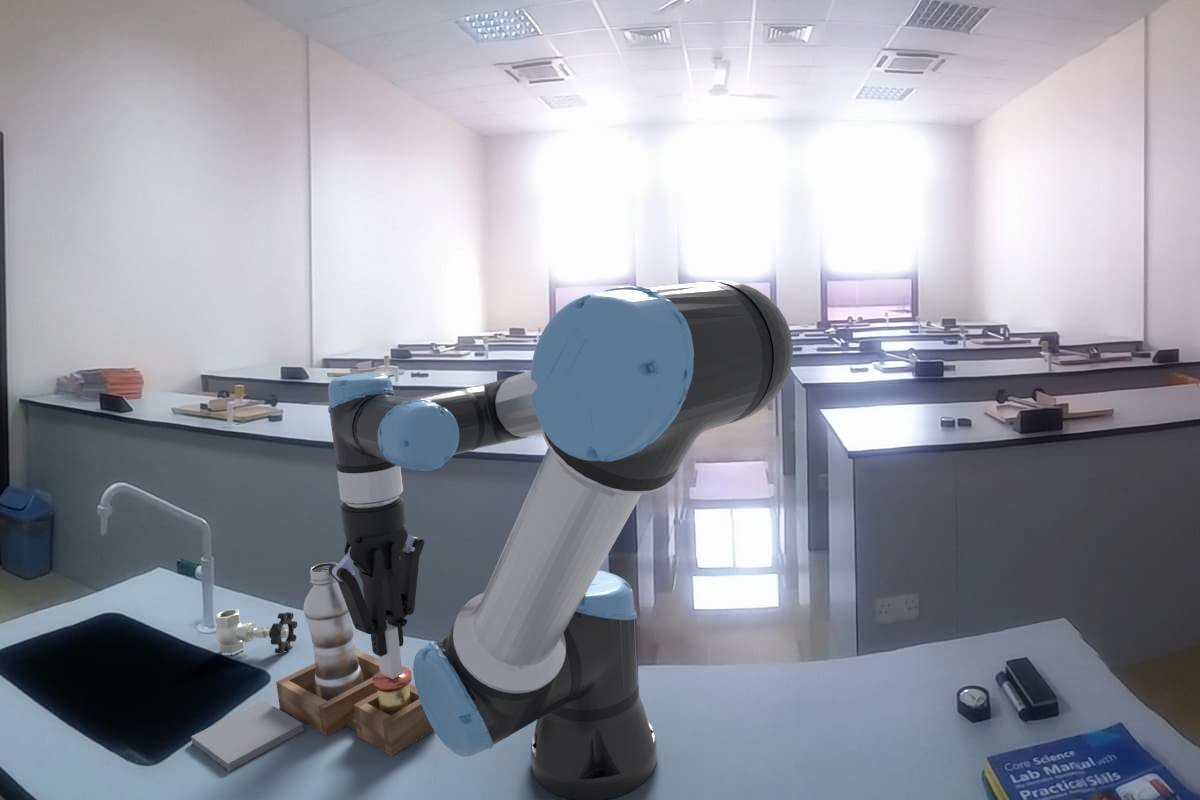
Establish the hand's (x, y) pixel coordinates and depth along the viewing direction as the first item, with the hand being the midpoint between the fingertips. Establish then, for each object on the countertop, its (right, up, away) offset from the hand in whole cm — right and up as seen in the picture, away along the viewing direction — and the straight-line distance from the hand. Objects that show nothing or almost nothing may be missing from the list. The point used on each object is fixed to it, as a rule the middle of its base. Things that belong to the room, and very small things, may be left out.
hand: (391, 673), depth 99 cm
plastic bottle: (-10, -7, +9) cm, 15 cm away
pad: (-19, -9, +2) cm, 22 cm away
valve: (-29, -6, +26) cm, 39 cm away
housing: (-5, -8, +6) cm, 11 cm away
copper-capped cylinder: (+1, -7, +1) cm, 7 cm away
